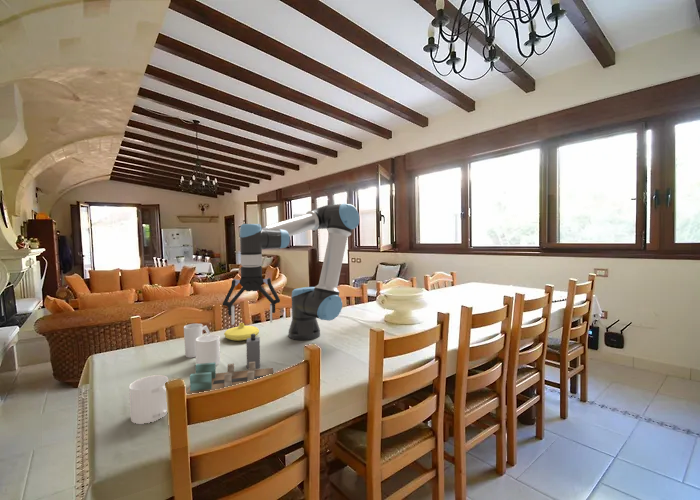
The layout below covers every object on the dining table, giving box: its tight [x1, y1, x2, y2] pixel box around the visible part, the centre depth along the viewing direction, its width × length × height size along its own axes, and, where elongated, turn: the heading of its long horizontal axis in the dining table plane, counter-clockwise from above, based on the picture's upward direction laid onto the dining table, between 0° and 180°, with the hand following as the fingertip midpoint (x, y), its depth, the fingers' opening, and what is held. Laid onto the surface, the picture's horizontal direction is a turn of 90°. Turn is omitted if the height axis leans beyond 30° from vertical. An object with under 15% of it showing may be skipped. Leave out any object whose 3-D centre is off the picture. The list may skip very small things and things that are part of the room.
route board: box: [185, 362, 274, 394], centre depth 108 cm, size 26×14×6 cm, turn 104°
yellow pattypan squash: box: [223, 322, 260, 342], centre depth 153 cm, size 16×16×7 cm
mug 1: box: [128, 374, 169, 425], centre depth 89 cm, size 12×9×9 cm
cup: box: [195, 334, 221, 367], centre depth 125 cm, size 8×12×10 cm
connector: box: [246, 334, 261, 370], centre depth 122 cm, size 4×4×12 cm
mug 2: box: [183, 323, 211, 359], centre depth 134 cm, size 10×7×12 cm, turn 139°
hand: (252, 322), depth 121 cm, fingers open, 13 cm apart
